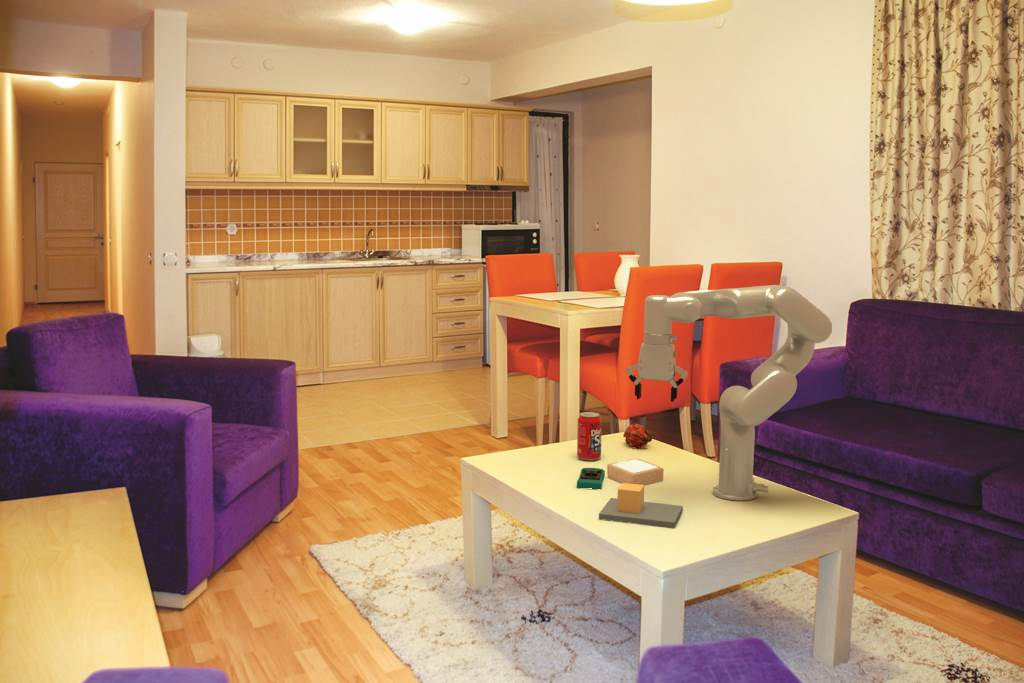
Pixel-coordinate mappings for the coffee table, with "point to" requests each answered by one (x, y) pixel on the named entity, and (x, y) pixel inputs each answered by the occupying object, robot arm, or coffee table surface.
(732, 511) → the coffee table surface
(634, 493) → the orange cube
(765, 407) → the robot arm
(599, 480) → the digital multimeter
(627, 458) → the coffee table surface
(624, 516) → the grey oblong slab
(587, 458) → the soda can
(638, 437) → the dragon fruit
